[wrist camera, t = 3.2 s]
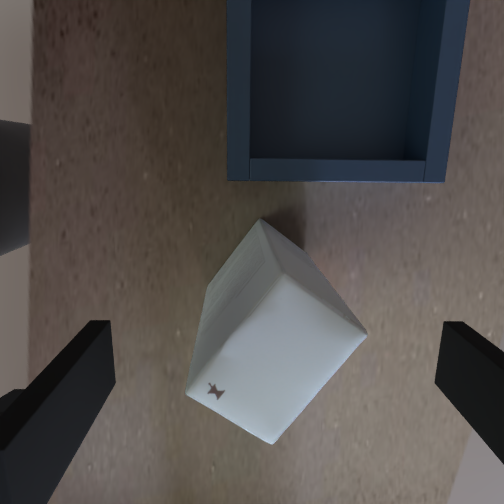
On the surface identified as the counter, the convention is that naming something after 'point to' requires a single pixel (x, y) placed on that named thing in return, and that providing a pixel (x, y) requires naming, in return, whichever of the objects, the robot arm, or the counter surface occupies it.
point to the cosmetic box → (268, 335)
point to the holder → (342, 89)
